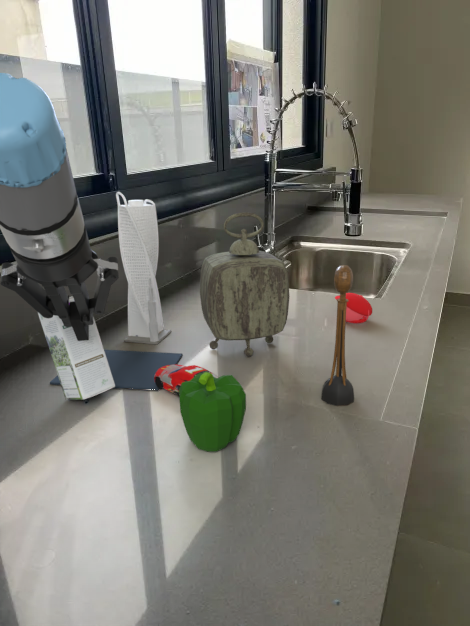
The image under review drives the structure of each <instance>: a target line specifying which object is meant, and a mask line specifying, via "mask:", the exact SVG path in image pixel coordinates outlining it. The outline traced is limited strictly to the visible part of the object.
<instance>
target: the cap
mask: <svg viewBox="0 0 470 626" xmlns="http://www.w3.org/2000/svg"><path fill="white" fill-rule="evenodd" d="M339 298H340V294H339V295H336V296H335V297H334V299H335V300H336V301H337V299H339ZM346 299H348V302H347V306H346V323H349V324H363V323H366V322H367V321H368V320H369V318H370V316H372V314H373V307H372V305H371V303H370V302H369V300H367V299H366V297H364V296H363V294H362V295H361V294H358V293H356V292H355V293H354V292H347V293H346Z"/></svg>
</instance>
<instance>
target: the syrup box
mask: <svg viewBox="0 0 470 626" xmlns="http://www.w3.org/2000/svg"><path fill="white" fill-rule="evenodd" d="M70 302H75V300H74V298H73V295H72V296H69V305H70ZM37 315H38V319H39V322H40V324H41V328H42V330H43V331H42V332H43V334H44V337H45V339H46V340H45V341H46V343H47V347H48V348H49V352H50V355H51V359H52V361H53V364H54V367H55V371H56V374H57V375H58V377H59V380H60V383H61V385H60V386H61V389H62V392H63V395H64V398H65V400H67V401H69V400H70V401H71V400H72V401H74V400H77V401H78V400H81V401H82V400H86V399H91V398H92V397H94V396H97V395H99V394H102V393H105V392H106V391H109V390H112V389H114V388H113V387H115V383H114V380H113V377H112V374H111V370H110V367H109V364H108V361H107V358H106V354H105V351H104V350H105V349H104V345H103V342H102V339H101V336H100V333H99V329H98V326H97V323H96V320H95V316H93V325H89V340H84V341H78V340H77V338H76V335H75V333H74V330H73V328H72V327H66V326H64V324H63V322H62V320H61V319H60V318H59V317H58V316H56V315H53V317H52V318H44V317H43V316H42V315H41V314H40V313H38V312H37Z"/></svg>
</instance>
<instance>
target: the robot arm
mask: <svg viewBox="0 0 470 626" xmlns="http://www.w3.org/2000/svg"><path fill="white" fill-rule="evenodd" d="M54 107H55V106H54V105H53V102H52V100H51V98H50V97H49V95H48V93H46V91H45V90H44V89H43V87H41V86H40V85H39V84H37V83H36V82H34V81H33V80H31V79H28V78H27V77H18V78H17V77H14V76H12V75H11V74H10V73H7V72H0V231H1V233H2V236H3V238H4V239H5V241H6V243H7V244H8V248H9V249H10V251H11V254H12V256H13V257H14V260H15V262H16V263H15V264H14V263H12V262H3V263H2V264H1V270H0V271H1V273H0V285H1V286H2V287H4V288H7V289H9V290H11V291H13V292H15V293H16V294H17V295H18V296H19V297H20V298H21V299H23V300H24V302H26V303H27V304H28V305H29V306H30V307H31V308H33V310H35V311H36V312H37V314H38V313H40V314H41V315H42V316H43V317H44V318H52V317H53V315H56V316H58V317H59V318H60V319H61V320H62V322H63V324H64V326H66V327H72V328H73V330H74V333H75V335H76V338H77V340H78V341H84V340H89V325H93V317H94V314H95V315H103V314H104V313H105V310H106V306H107V302H108V298H109V295H110V291H111V289H112V288H111V287H112V285H114V284H115V282H117V281H118V280H119V278H120V275H119V273H120V271H119V258H118V257H116V256H110V257H107V259H101V258H99V256H98V254H97V253H96V252H95V251H94V250H93V249H92V248H91V244H90V241H89V236H88V232H87V228H86V225H85V221H84V220H85V219H84V215H83V212H82V207H81V204H80V200H79V197H78V194H77V189H76V184H75V181H74V176H73V170H72V167H71V162H70V159H69V153H68V150H67V140H66V137H65V134H64V130H63V129H62V128H61V123H60V121H59V119H58V117H57V113H56V111H55V108H54ZM95 272H96V275H97V280H96V283H95V288H94V293H93V297H92V298H90V295H89V291H88V287H87V285H86V282H85V281H87V280H88V279H89V278H90V277H91V276H92V275H93V274H94V273H95ZM65 287H67V288H68V291H69V293H70V295H72V296H73V298H74V300H75V302H70V305H69V297H70V295H68V293H67V291H66V288H65Z"/></svg>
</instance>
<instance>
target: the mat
mask: <svg viewBox="0 0 470 626" xmlns="http://www.w3.org/2000/svg"><path fill="white" fill-rule="evenodd" d="M104 351H105V354H106V358H107V361H108V364H109V367H110V370H111V374H112V377H113V380H114V383H115V387H113V388H112V389H117V388H131V389H130V390H132V388H133V389H151V390H152V389H153V390H154V389H155V390H159V388H158V387H157V386H156V383H155V381H154V376H155V373H156V372H157V371H158V369H159V368H161V367H163V366H167V365H178V364H179V362H180V360H181V359H182V357H183V353H179V352H161V351H159V352H158V351H141V350H140V351H139V350H121V349H104ZM49 384H50V385H55V386H56V385H57V386H61V383H60V380H59V377H58V374H57V375H56V376H55V377H54V378H53V379H51V380H50V381H49ZM159 391H160V390H159Z"/></svg>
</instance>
